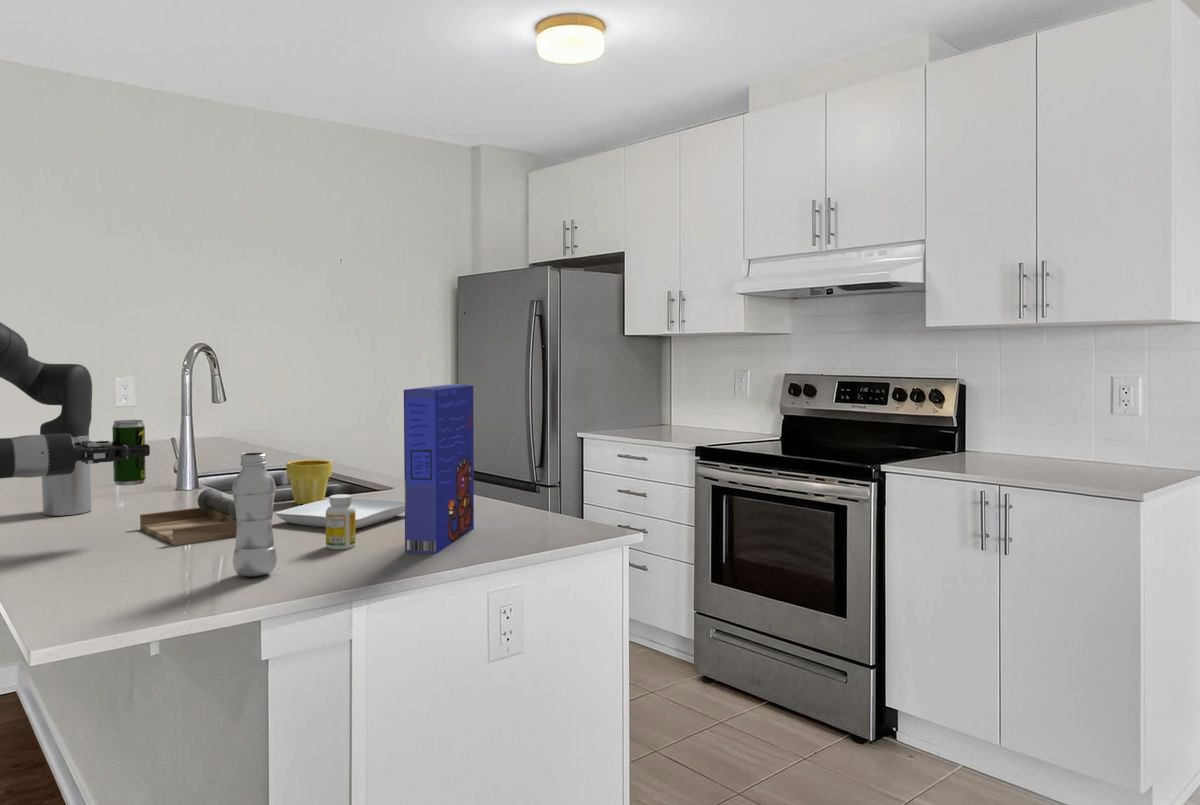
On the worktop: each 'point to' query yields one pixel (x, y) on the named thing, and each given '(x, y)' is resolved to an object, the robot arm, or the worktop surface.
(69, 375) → the robot arm
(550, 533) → the worktop surface
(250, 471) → the plastic bottle
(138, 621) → the worktop surface
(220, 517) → the bay
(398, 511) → the salad plate
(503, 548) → the worktop surface
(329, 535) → the supplement bottle
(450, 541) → the cereal box
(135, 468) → the beer can
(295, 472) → the plant pot
